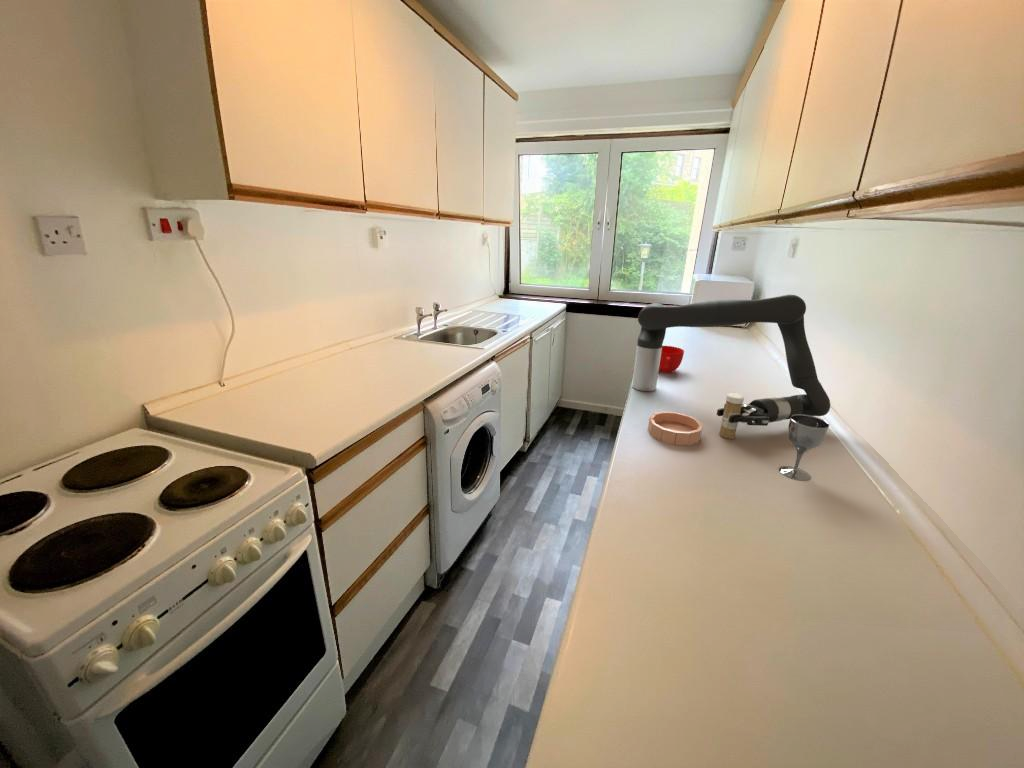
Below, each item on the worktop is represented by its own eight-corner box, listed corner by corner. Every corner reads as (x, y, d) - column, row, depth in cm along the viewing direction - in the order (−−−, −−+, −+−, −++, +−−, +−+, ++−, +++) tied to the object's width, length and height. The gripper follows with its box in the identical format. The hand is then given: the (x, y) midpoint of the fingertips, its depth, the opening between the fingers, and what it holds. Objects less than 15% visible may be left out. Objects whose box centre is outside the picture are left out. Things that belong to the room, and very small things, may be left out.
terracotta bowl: (643, 422, 136) (645, 410, 134) (690, 423, 135) (692, 412, 133) (655, 444, 122) (657, 431, 120) (707, 446, 121) (710, 434, 119)
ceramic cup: (649, 376, 178) (652, 354, 175) (650, 365, 194) (653, 344, 190) (681, 380, 175) (685, 357, 171) (679, 368, 190) (683, 347, 186)
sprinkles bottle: (717, 431, 130) (725, 391, 125) (733, 433, 129) (742, 393, 124) (720, 438, 126) (728, 396, 121) (736, 440, 125) (745, 398, 120)
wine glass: (795, 483, 103) (811, 429, 98) (769, 467, 111) (783, 415, 105) (820, 479, 105) (837, 426, 100) (793, 463, 113) (807, 412, 107)
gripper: (753, 390, 134) (709, 395, 129) (792, 408, 121) (745, 414, 116) (748, 412, 136) (704, 417, 132) (786, 431, 123) (739, 438, 119)
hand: (724, 415), depth 124 cm, fingers closed on sprinkles bottle, 4 cm apart
